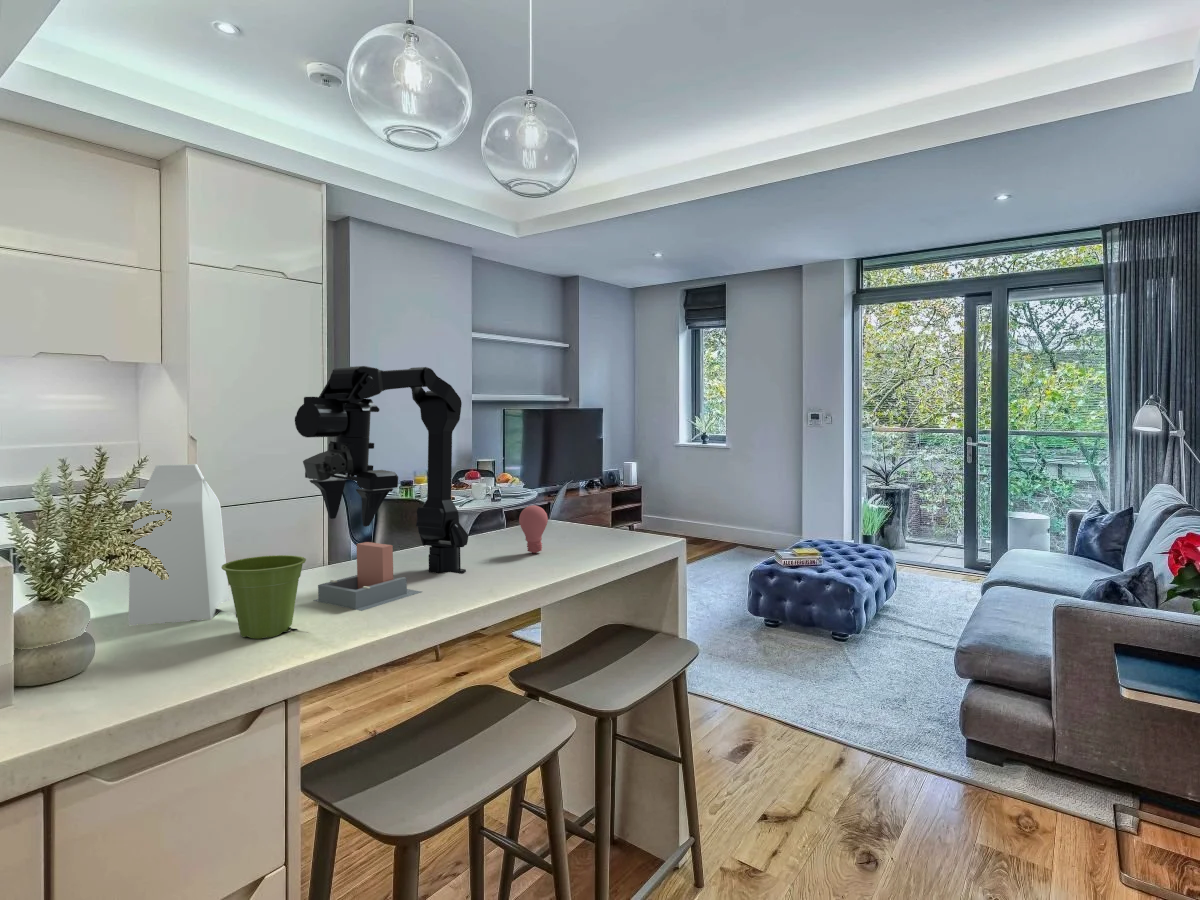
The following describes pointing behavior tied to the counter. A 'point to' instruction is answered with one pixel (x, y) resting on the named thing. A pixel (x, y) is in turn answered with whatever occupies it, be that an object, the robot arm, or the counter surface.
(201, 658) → the counter surface
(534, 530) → the light bulb
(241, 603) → the plant pot
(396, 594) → the dock
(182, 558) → the milk
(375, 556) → the upright terracotta block
